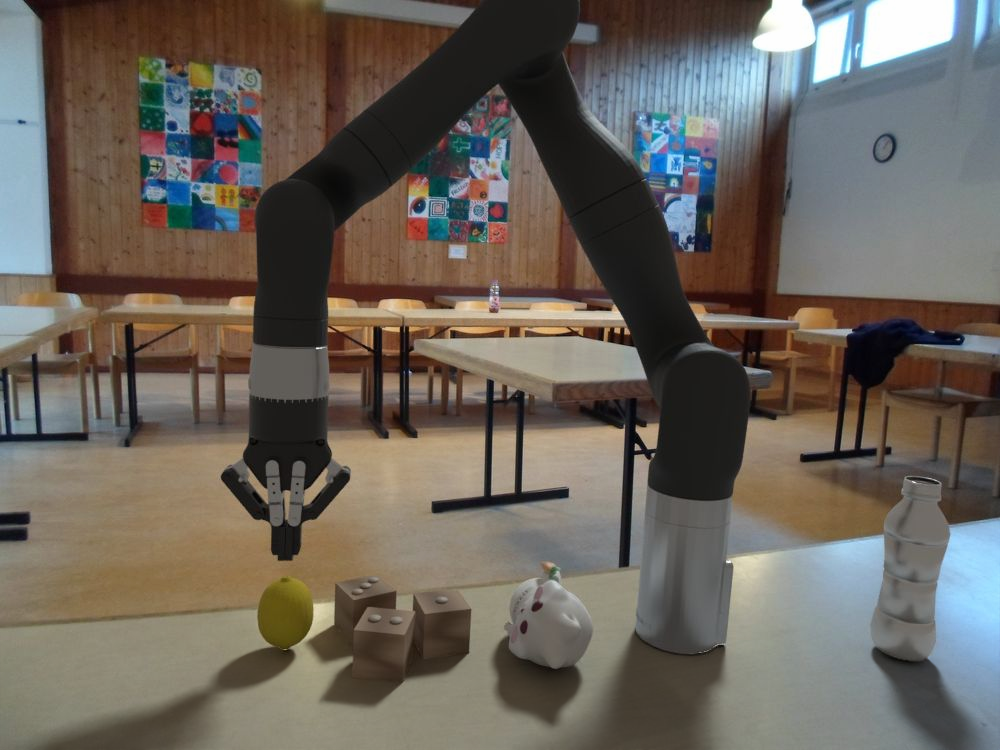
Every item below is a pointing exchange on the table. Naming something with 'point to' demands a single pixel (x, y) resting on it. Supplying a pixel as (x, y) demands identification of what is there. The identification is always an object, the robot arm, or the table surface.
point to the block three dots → (360, 601)
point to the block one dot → (441, 623)
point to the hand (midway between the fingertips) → (285, 557)
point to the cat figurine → (548, 621)
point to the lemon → (285, 612)
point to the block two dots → (383, 644)
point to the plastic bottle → (911, 572)
